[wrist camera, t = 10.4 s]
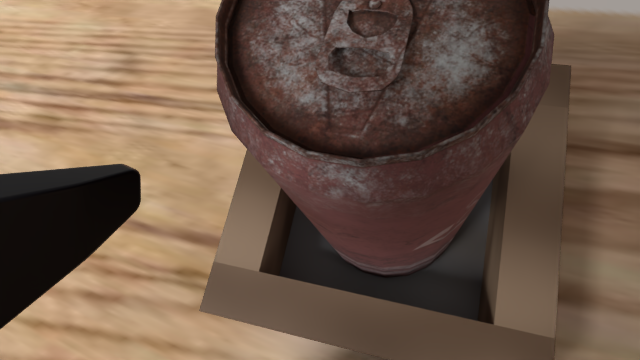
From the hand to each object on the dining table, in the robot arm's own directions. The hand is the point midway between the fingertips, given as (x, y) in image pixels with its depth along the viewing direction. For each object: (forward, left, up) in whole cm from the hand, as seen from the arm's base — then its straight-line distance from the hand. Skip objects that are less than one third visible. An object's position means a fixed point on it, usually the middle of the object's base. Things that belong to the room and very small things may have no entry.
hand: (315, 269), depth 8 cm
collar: (+4, +3, -12) cm, 13 cm away
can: (+4, +3, -11) cm, 12 cm away
